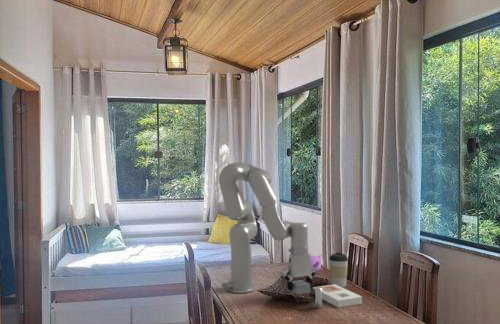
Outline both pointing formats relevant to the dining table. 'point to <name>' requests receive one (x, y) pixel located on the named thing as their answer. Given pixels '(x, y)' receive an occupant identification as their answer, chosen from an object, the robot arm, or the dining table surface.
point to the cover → (300, 287)
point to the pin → (318, 297)
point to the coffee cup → (338, 269)
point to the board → (339, 296)
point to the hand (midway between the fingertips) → (299, 288)
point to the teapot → (316, 262)
